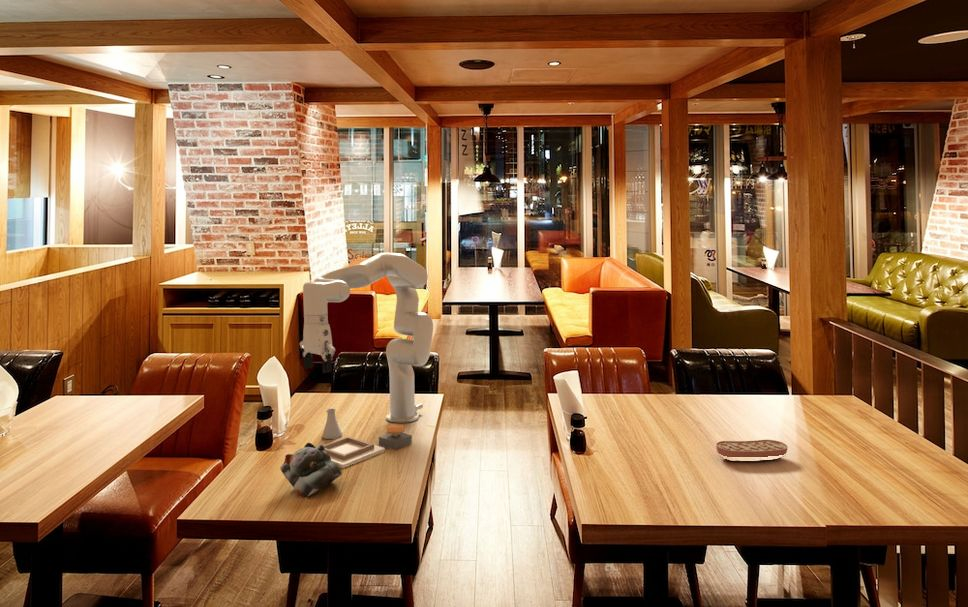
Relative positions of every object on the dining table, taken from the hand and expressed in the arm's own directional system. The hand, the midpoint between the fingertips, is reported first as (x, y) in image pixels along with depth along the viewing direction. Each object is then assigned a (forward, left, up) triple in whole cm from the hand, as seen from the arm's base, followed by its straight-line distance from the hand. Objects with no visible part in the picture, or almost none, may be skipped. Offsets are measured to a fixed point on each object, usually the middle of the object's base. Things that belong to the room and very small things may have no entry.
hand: (317, 370), depth 212 cm
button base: (-20, +16, -28) cm, 38 cm away
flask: (-12, -8, -28) cm, 32 cm away
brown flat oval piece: (-79, +118, -28) cm, 145 cm away
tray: (-4, +9, -28) cm, 29 cm away
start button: (-20, +16, -26) cm, 36 cm away
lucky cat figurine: (+21, +22, -28) cm, 41 cm away
